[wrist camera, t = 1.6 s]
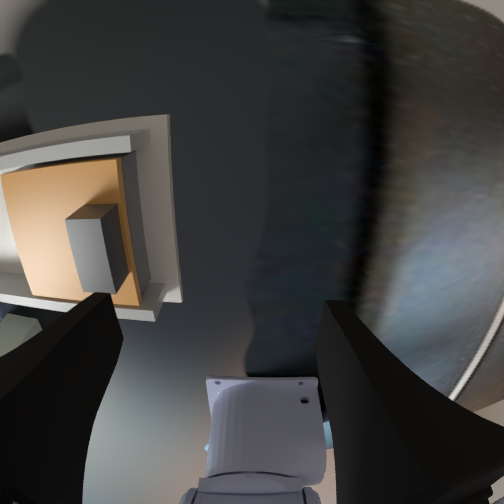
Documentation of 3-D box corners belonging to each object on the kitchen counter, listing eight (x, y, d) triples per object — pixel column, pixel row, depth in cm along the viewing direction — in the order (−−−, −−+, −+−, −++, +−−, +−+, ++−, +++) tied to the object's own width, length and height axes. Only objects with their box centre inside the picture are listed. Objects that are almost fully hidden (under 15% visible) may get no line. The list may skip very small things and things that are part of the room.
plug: (37, 318, 23) (6, 363, 17) (53, 352, 25) (28, 396, 20) (7, 313, 23) (-23, 352, 17) (24, 345, 25) (-2, 385, 20)
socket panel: (169, 114, 15) (149, 118, 12) (183, 297, 21) (172, 331, 18) (-53, 159, 15) (-80, 172, 12) (-22, 278, 21) (-42, 298, 18)
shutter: (121, 157, 14) (97, 169, 11) (142, 299, 18) (128, 328, 15) (6, 172, 14) (-22, 185, 11) (36, 290, 18) (18, 312, 15)
